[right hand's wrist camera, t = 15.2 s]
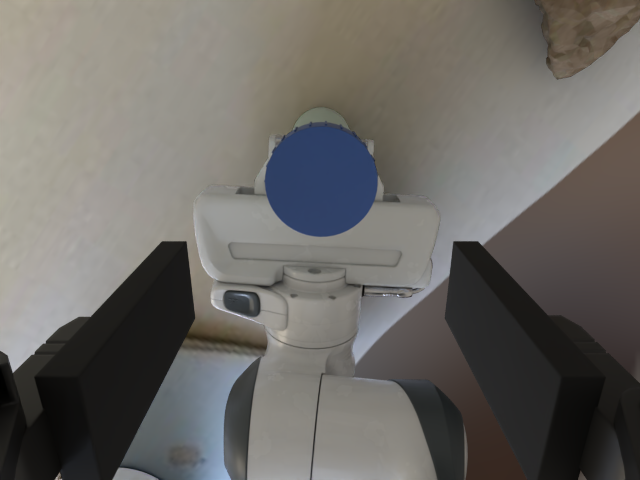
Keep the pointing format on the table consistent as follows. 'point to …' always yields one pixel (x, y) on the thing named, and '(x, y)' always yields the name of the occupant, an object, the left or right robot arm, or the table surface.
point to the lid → (321, 179)
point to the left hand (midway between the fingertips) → (321, 137)
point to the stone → (583, 30)
